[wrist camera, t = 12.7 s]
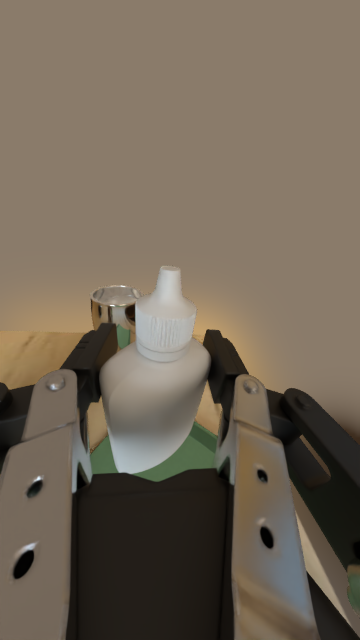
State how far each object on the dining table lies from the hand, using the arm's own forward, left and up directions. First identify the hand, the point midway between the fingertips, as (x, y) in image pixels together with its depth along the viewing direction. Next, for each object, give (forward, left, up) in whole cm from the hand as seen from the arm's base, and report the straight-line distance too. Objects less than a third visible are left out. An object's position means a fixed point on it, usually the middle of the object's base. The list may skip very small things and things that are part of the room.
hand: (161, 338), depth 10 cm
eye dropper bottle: (+1, -2, -7) cm, 8 cm away
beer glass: (-12, +7, -18) cm, 22 cm away
